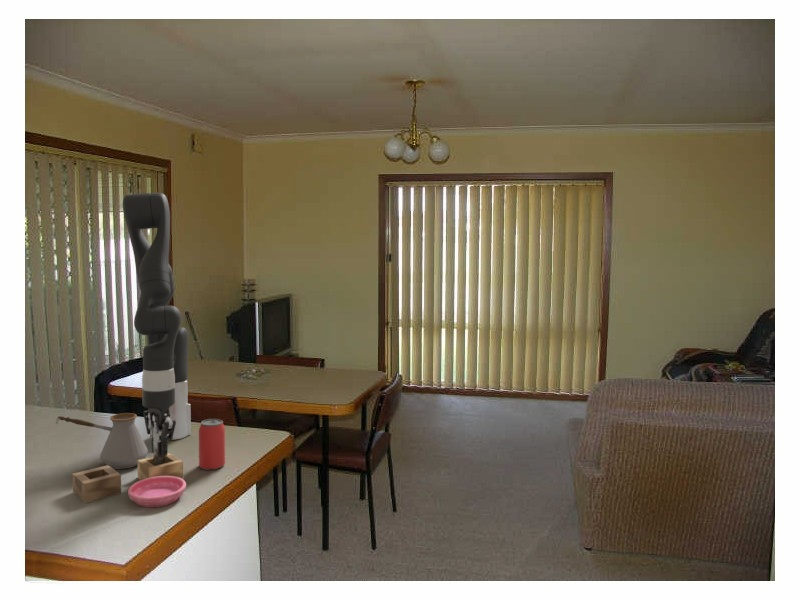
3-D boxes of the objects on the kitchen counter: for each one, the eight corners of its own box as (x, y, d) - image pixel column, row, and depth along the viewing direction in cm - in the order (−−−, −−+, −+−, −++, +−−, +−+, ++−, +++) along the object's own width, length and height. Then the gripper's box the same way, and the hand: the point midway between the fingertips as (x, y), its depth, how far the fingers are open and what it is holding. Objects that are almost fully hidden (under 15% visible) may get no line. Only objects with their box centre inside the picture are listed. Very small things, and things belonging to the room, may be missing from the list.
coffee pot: (143, 453, 168) (142, 400, 166) (152, 466, 158) (151, 410, 157) (55, 467, 156) (53, 410, 154) (58, 482, 146) (57, 422, 145)
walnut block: (108, 482, 147) (107, 465, 146) (121, 493, 141) (120, 474, 141) (72, 492, 141) (72, 473, 141) (84, 503, 136) (84, 483, 135)
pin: (162, 463, 152) (162, 424, 151) (167, 466, 150) (167, 427, 149) (151, 466, 150) (151, 426, 149) (156, 469, 148) (155, 429, 147)
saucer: (168, 513, 132) (167, 499, 132) (116, 507, 134) (116, 494, 134) (195, 490, 144) (195, 477, 144) (148, 485, 146) (148, 473, 146)
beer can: (230, 463, 162) (229, 419, 160) (214, 472, 155) (214, 427, 154) (209, 459, 164) (209, 417, 162) (193, 468, 158) (193, 423, 156)
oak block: (168, 469, 156) (168, 452, 156) (183, 478, 151) (183, 461, 150) (137, 477, 150) (137, 460, 150) (151, 487, 145) (151, 469, 145)
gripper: (186, 389, 146) (187, 458, 148) (161, 379, 156) (162, 444, 157) (155, 394, 141) (156, 465, 142) (131, 383, 150) (132, 450, 152)
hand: (159, 454), depth 150 cm, fingers closed on pin, 2 cm apart
